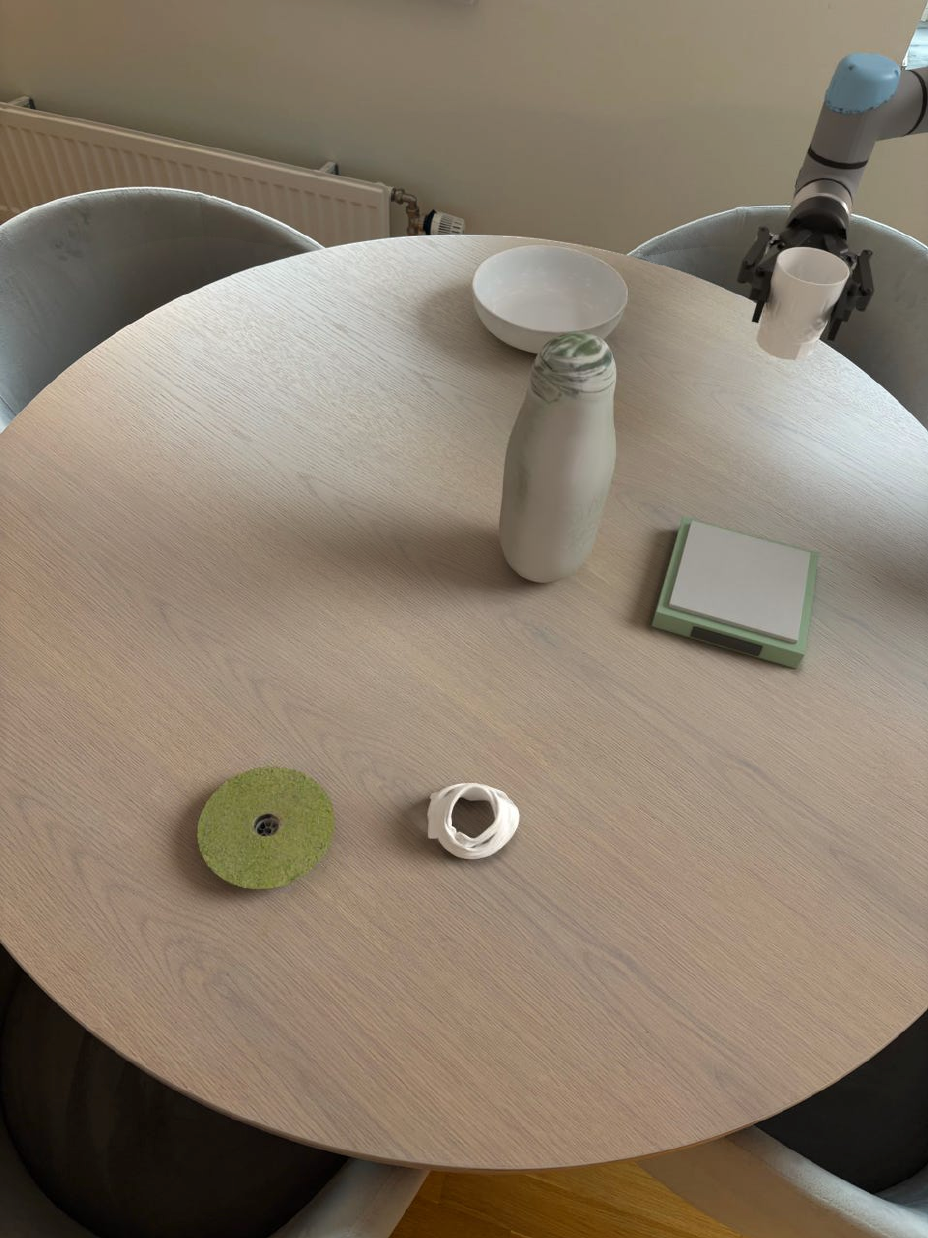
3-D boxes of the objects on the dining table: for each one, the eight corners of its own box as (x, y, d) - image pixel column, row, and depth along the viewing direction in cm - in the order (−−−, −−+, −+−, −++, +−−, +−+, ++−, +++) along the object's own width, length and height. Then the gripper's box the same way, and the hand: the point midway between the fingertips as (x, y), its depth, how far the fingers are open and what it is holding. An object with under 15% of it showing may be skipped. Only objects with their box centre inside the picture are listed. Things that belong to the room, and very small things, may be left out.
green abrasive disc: (347, 879, 78) (347, 869, 77) (209, 914, 76) (205, 904, 74) (321, 765, 85) (320, 753, 84) (193, 793, 83) (190, 782, 81)
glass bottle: (526, 519, 107) (559, 296, 85) (604, 560, 103) (660, 338, 82) (476, 570, 102) (498, 345, 80) (557, 615, 98) (603, 393, 77)
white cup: (832, 351, 111) (864, 272, 103) (785, 371, 108) (815, 291, 100) (783, 318, 115) (811, 240, 107) (736, 336, 112) (762, 257, 104)
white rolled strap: (512, 796, 85) (521, 764, 82) (520, 863, 81) (530, 831, 77) (423, 795, 84) (428, 762, 81) (427, 863, 79) (432, 831, 76)
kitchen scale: (811, 567, 105) (820, 548, 102) (796, 671, 95) (806, 653, 93) (678, 531, 107) (684, 511, 105) (650, 628, 98) (656, 609, 95)
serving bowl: (460, 289, 136) (463, 244, 131) (602, 288, 139) (610, 243, 134) (477, 377, 123) (481, 331, 118) (634, 374, 126) (644, 329, 120)
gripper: (889, 271, 119) (878, 372, 105) (727, 235, 123) (695, 328, 109) (914, 214, 113) (906, 312, 99) (743, 178, 117) (712, 267, 103)
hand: (796, 320), depth 104 cm, fingers closed on white cup, 8 cm apart
